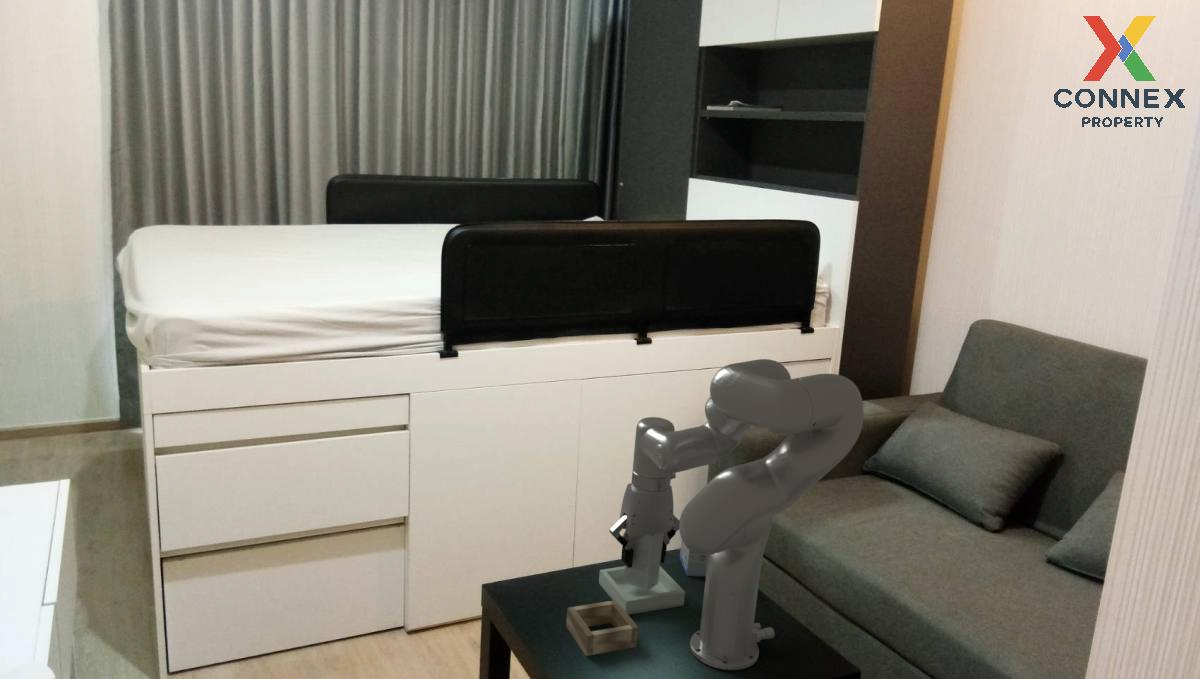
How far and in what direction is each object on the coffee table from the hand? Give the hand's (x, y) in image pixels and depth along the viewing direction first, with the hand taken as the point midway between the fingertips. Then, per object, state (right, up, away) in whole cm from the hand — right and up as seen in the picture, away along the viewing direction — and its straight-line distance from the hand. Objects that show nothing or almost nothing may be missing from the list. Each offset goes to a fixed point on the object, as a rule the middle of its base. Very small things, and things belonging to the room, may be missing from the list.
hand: (643, 561), depth 185 cm
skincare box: (-1, -5, +1) cm, 5 cm away
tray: (0, -7, +2) cm, 7 cm away
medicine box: (+11, -5, +14) cm, 19 cm away
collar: (-9, -10, -14) cm, 20 cm away
